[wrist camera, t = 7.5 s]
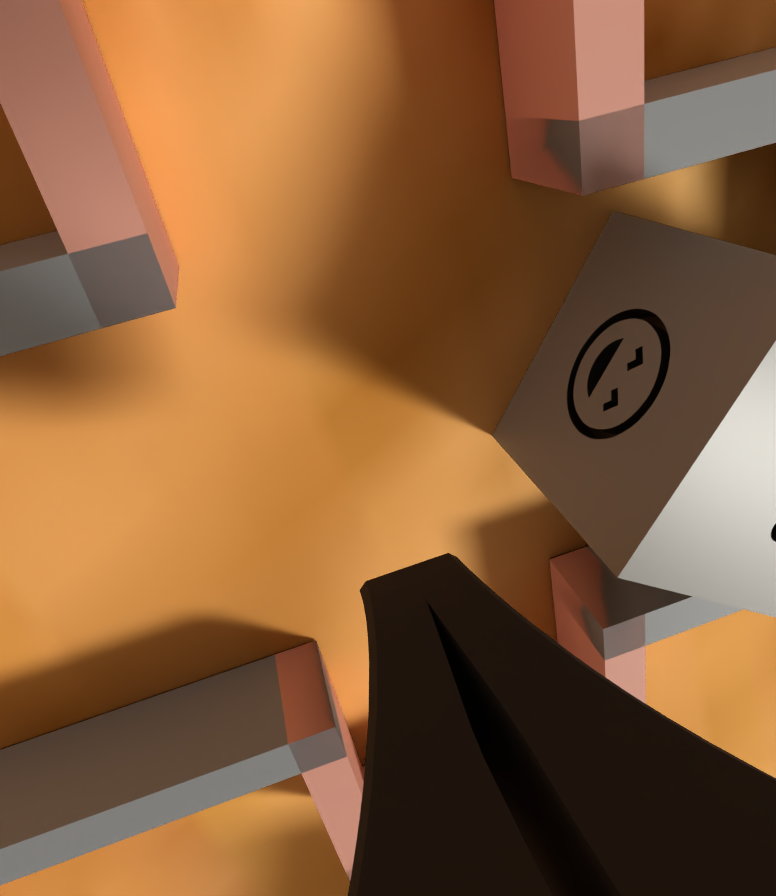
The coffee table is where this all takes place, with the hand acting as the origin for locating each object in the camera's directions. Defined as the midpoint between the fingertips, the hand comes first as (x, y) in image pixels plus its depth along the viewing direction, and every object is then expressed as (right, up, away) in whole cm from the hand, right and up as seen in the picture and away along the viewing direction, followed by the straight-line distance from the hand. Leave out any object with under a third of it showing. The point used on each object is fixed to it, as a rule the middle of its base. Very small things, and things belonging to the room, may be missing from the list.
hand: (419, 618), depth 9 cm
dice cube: (+5, +4, +5) cm, 8 cm away
